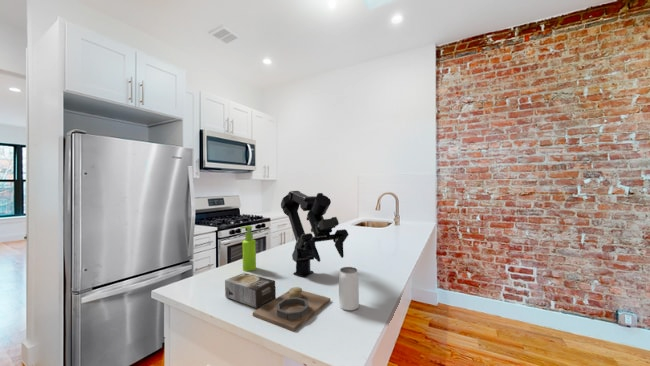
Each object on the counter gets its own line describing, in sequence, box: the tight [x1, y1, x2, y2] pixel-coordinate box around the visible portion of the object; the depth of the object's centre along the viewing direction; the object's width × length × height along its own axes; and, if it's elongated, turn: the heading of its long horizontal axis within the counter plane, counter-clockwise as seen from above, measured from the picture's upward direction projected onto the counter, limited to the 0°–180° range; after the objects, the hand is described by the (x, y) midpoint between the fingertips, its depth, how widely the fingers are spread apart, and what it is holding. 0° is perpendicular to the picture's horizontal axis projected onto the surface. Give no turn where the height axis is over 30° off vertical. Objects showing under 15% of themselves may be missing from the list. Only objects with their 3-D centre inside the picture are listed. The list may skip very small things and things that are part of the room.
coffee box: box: [224, 272, 277, 309], centre depth 90 cm, size 9×6×16 cm
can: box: [338, 266, 360, 312], centre depth 83 cm, size 6×6×12 cm
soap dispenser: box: [239, 225, 257, 272], centre depth 119 cm, size 6×7×20 cm
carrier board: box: [252, 286, 331, 332], centre depth 82 cm, size 20×16×3 cm
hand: (331, 259), depth 89 cm, fingers open, 9 cm apart
